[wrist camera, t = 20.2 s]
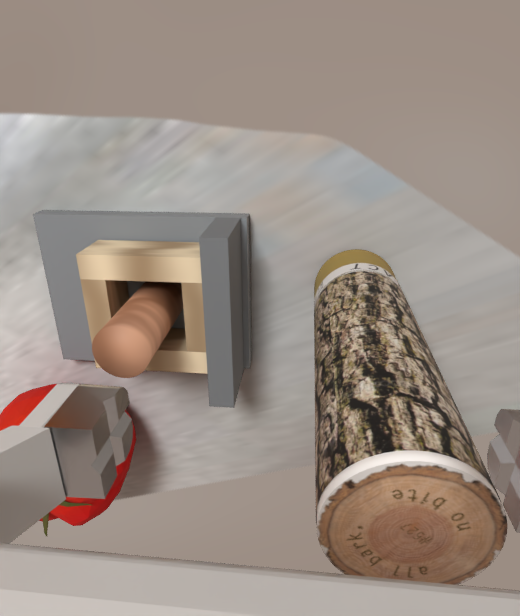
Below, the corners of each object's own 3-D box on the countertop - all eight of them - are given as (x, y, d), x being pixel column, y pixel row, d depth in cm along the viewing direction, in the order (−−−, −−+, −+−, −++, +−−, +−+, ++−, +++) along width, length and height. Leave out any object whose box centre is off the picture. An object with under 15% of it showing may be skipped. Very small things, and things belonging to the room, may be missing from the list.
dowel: (184, 275, 39) (145, 327, 30) (187, 317, 41) (152, 379, 32) (139, 273, 40) (87, 325, 30) (144, 315, 41) (96, 376, 32)
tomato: (90, 475, 52) (35, 569, 42) (9, 388, 48) (-75, 468, 38) (175, 436, 49) (137, 529, 38) (94, 339, 45) (27, 412, 34)
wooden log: (353, 334, 41) (403, 616, 19) (297, 286, 40) (278, 528, 17) (411, 282, 39) (549, 536, 16) (354, 230, 38) (416, 426, 15)
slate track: (248, 213, 38) (235, 238, 31) (251, 360, 44) (240, 407, 37) (42, 210, 40) (-14, 232, 33) (71, 351, 45) (28, 395, 39)
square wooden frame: (216, 242, 37) (205, 257, 34) (221, 349, 41) (212, 373, 38) (98, 239, 38) (75, 254, 35) (114, 344, 42) (96, 367, 39)
